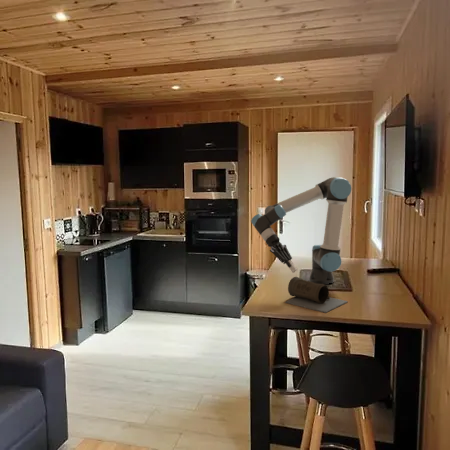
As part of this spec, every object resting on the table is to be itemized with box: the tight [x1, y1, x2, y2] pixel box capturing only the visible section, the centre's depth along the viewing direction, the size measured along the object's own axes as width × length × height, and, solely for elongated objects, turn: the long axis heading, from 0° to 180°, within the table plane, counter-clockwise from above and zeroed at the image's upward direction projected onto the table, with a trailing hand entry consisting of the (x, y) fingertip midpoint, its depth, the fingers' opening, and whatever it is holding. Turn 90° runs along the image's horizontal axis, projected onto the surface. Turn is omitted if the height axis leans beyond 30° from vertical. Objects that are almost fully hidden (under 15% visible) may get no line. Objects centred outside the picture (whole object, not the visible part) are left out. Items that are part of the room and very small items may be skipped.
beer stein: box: [287, 276, 330, 303], centre depth 224 cm, size 15×11×20 cm
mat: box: [285, 296, 348, 314], centre depth 220 cm, size 24×22×1 cm
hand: (295, 271), depth 227 cm, fingers closed
